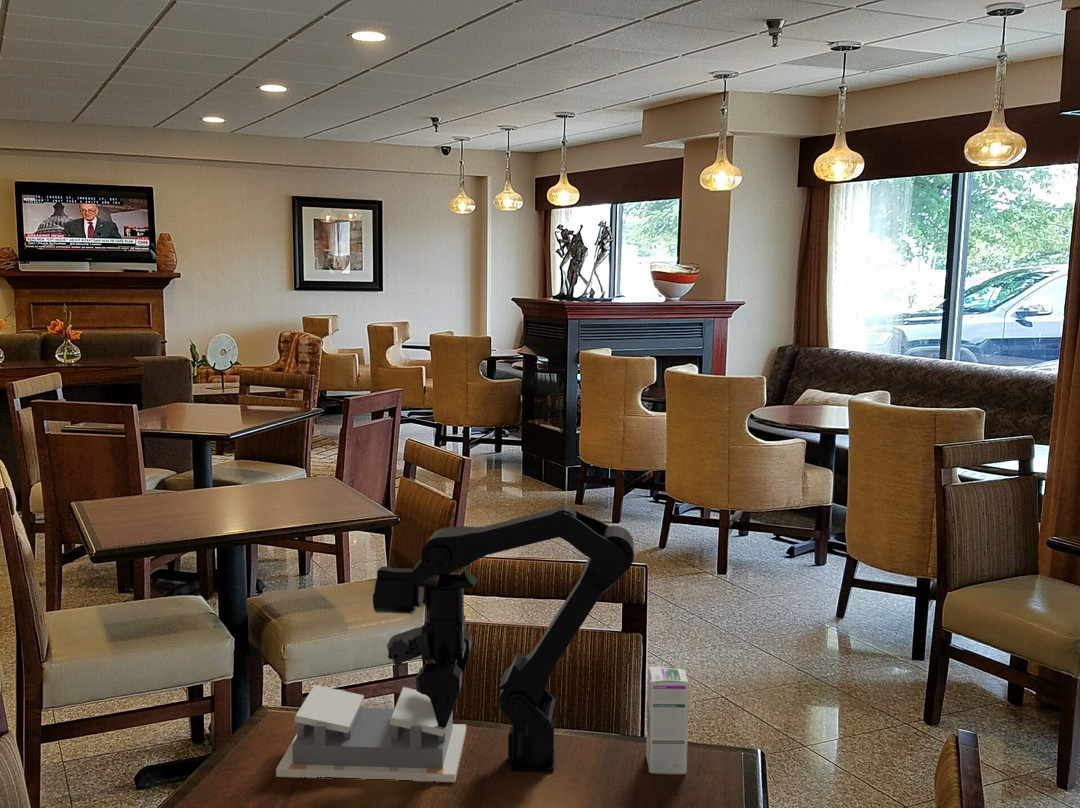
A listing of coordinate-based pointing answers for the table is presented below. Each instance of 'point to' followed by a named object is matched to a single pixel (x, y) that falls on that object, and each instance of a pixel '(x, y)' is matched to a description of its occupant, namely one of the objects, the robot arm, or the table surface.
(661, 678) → the syrup box
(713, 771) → the table surface
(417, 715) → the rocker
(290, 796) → the table surface
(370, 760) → the box
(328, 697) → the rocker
